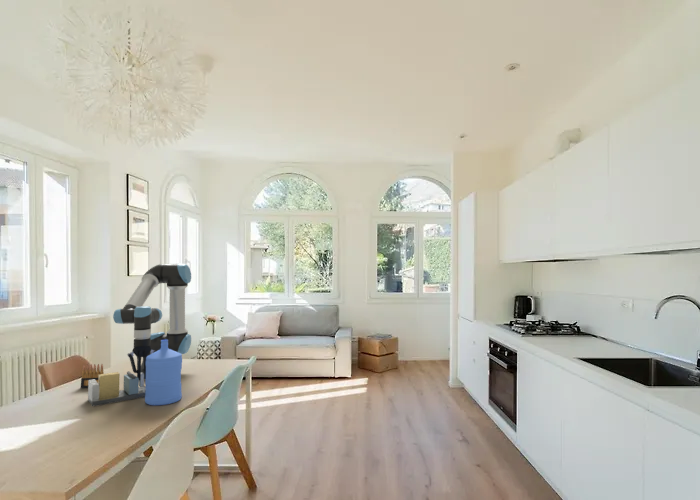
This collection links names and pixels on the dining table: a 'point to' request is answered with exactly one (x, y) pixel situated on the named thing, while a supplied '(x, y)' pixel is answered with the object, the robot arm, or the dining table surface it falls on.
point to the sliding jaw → (131, 383)
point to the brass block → (108, 384)
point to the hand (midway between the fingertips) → (141, 386)
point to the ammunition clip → (90, 374)
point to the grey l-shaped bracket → (123, 395)
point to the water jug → (163, 376)
